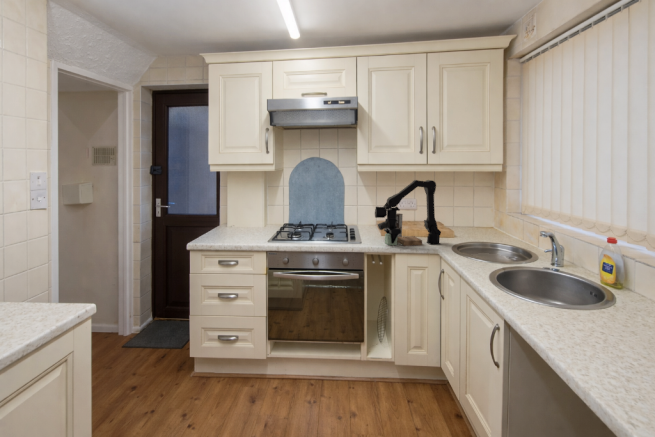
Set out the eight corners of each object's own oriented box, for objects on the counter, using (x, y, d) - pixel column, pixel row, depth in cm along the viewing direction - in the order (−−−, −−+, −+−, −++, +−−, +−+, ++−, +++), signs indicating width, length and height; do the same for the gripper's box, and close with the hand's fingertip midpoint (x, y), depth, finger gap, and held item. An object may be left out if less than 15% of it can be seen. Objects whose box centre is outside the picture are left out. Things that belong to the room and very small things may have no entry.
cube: (393, 242, 226) (394, 233, 225) (397, 244, 221) (397, 235, 220) (384, 242, 225) (384, 233, 225) (387, 245, 220) (388, 235, 219)
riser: (414, 240, 232) (414, 236, 231) (421, 245, 220) (422, 240, 220) (396, 241, 230) (396, 236, 229) (403, 245, 218) (403, 241, 218)
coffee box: (402, 237, 243) (403, 213, 241) (398, 238, 238) (399, 214, 235) (389, 235, 248) (390, 212, 245) (386, 237, 243) (386, 213, 240)
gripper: (374, 215, 228) (374, 239, 231) (383, 220, 210) (383, 246, 213) (391, 215, 230) (390, 238, 232) (401, 219, 212) (400, 245, 214)
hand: (390, 242), depth 223 cm, fingers closed on cube, 6 cm apart
